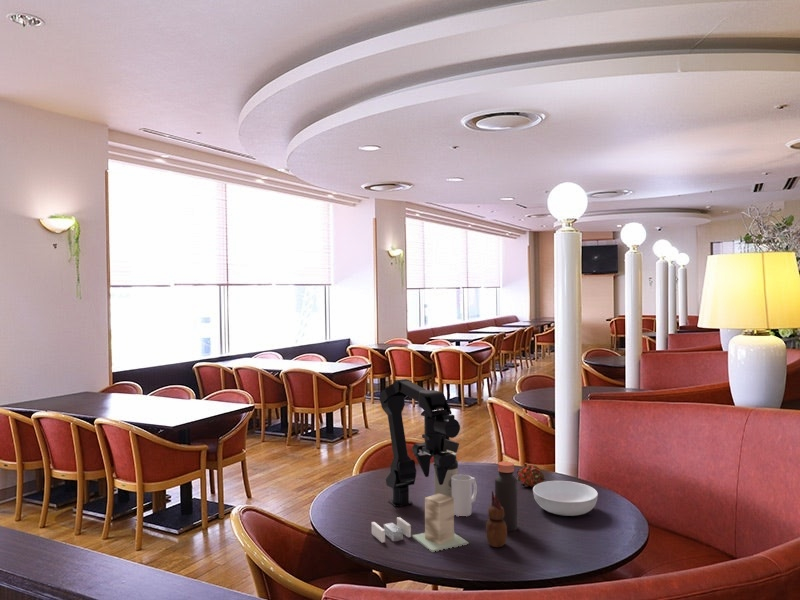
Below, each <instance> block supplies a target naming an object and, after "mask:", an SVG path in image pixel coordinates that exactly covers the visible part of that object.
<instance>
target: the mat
mask: <svg viewBox="0 0 800 600" xmlns="http://www.w3.org/2000/svg"><path fill="white" fill-rule="evenodd" d="M411 537H412V538H413V539H414V540H415V541H417V542H418V543H419V544H420V545H422V546H423V547H424V548H426V549H427V550H428V549H429V550H428V551H430V552H431V553H436V552H440V551H439V550H441V551H444V550H443V549H445V550H449V549H448V548H450V549H453V548H452V547H454V548H458V546H459V547H462V545H463V546H466V545H467V544H468V545H469V541H467V540H466V539H464V538H463V537H461V536H460V535H458V534H457V533H456V532H454V539H452V540H450V541H447V542H445V543H442V544H438V543H435V542H433V541H430V540H428V539H425V532H421V533H417V534H411ZM435 551H436V552H435Z"/></svg>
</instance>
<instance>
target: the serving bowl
mask: <svg viewBox="0 0 800 600" xmlns="http://www.w3.org/2000/svg"><path fill="white" fill-rule="evenodd" d="M532 493H533V498H534V500H535V502H536V503H537V505H539V507H541V508H542V509H543V510H545V511H546V512H548V513H551V514H554V515H559V516H566V517H567V516H571V517H572V516H573V517H575V516H581V515H585V514H587V513H590V512H591V511H592V510H593V509H594V508H595V507H596V504H597V502H598V498H599V497H598V496H599V493H598V491H597V490H596V489H595V488H594V487H592V486H590V485H588V484H584V483H580V482H577V481H569V480H550V481H549V480H547V481H543V482H542V483H539V484H537V485H535V486H534V487H532Z"/></svg>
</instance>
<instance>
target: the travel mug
mask: <svg viewBox="0 0 800 600" xmlns="http://www.w3.org/2000/svg"><path fill="white" fill-rule="evenodd" d="M447 452H449V453H451V454H454V455H455V456H456V457H457V455H458V452H457V453H454V452H453V451H449V450H447ZM442 453H446V452H442ZM433 464H435V463H433ZM433 468H434V467H433ZM433 470H434V473H433V474H434V495H435V494H438V493H440V494H443V495H446V496H449V497H452V488H451V477H452V476H453V475H457V474H459V463H458V459H456V464H454V465H453V466H451V467H449V469H448V471H447V473H446V476H445V479H444V482H443V484H442V485H439V482H438V479H437V475H436V472H435V468H434V469H433Z"/></svg>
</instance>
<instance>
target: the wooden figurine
mask: <svg viewBox="0 0 800 600" xmlns="http://www.w3.org/2000/svg"><path fill="white" fill-rule="evenodd" d="M487 513H488V519H487V521H486V524H485V536H486V540H487V544H489V546H491V547H494V548H502V547H503V546H504V545H505V544H506V541H507V538H508V532H507V526H506V523H505V521H504V520H503V518H504V509H503V507H502V506H501V505H500V502H499V501H498V499H497V497H496V494H495V493H494V491H491V505H490V506H489V507H488V511H487Z"/></svg>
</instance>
